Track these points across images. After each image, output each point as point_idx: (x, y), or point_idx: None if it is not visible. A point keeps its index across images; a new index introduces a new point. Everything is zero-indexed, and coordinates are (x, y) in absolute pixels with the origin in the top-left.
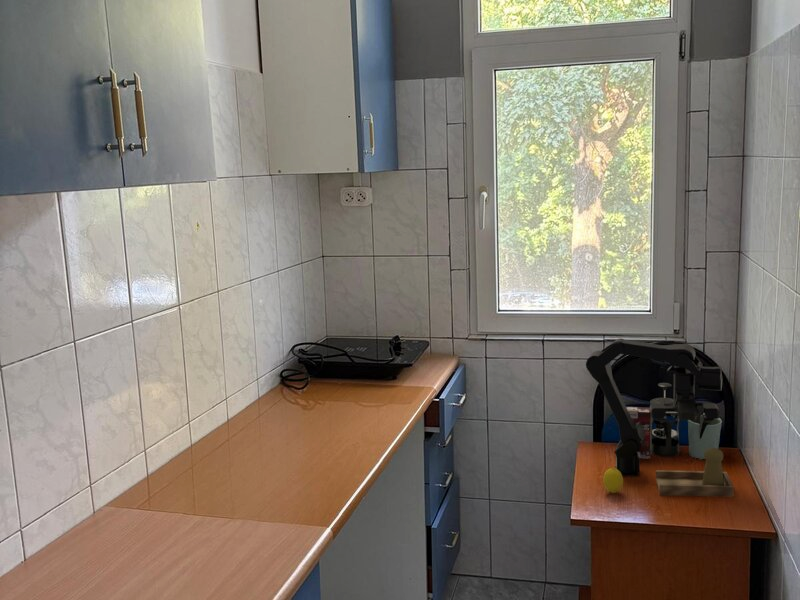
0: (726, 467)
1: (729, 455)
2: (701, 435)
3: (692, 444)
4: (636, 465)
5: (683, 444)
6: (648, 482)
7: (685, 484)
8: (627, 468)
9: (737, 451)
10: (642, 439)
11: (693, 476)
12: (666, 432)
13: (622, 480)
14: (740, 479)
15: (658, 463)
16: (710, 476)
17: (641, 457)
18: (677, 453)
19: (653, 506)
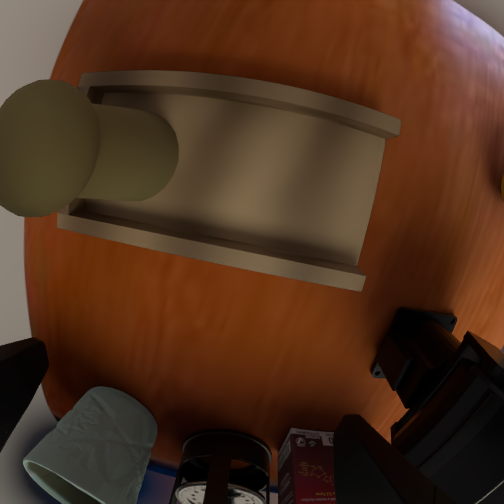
0: (65, 326)
1: (59, 388)
2: (10, 346)
3: (138, 444)
4: (411, 342)
5: (164, 466)
6: (385, 252)
7: (251, 174)
8: (441, 328)
9: (46, 397)
10: (482, 404)
11: (191, 234)
12: (391, 458)
13: None
14: (42, 230)
15: (277, 399)
16: (133, 113)
17: (317, 432)
18: (192, 437)
19: (420, 54)
